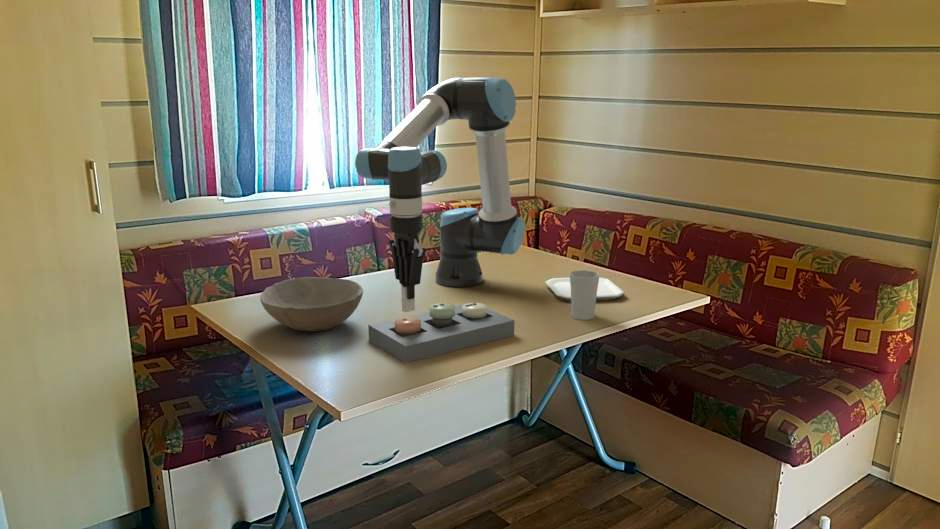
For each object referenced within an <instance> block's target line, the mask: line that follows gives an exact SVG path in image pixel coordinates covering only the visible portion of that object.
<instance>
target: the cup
mask: <svg viewBox="0 0 940 529" xmlns="http://www.w3.org/2000/svg"><path fill="white" fill-rule="evenodd" d="M599 277H600V273H598V272H597V271H594V270H588V269H587V270H586V269H578V270H572V271H570V272H569V278H570V285H571V301H570V303H571V304H570V305H571V309H570V310H571V312H570V317H571V318H573V319H575V320H583V321H585V320H587V321H588V320H592V319H594V318H595V310H596V304H597V301H596V296H597V288H598V282H599Z"/></svg>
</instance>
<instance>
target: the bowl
mask: <svg viewBox="0 0 940 529" xmlns="http://www.w3.org/2000/svg"><path fill="white" fill-rule="evenodd" d="M363 295H364V288H363V287H362V285H360V284H359V283H358V282H356V281H353V280H350V279H344V278H331V277H319V276H318V277H314V276H305V277H295V278H290V279H285V280H282V281H280V282H276V283H274V284H273V285H271V286H268V287H266V288H265V289H264V290H263V291H262V292H261V294H260V297H259V298H260V300H259V301H260V303H261V305H262V307H263V309H264V310H265V311H266V312H267V313H268V314H269V316H271V317H272V318H273V319H274V320H275V321H276V322H278V323H280V324H281V325H283V326H285V327H288V328H290V329H293V330H297V331H299V332H300V331H301V332H305V331H307V332H318V331H319V332H321V331H323V330H324V331H326V330H330V329H332V328H333V327H336V326H338V325H341V324H342V323H344V321H346V320H348V318H350V316H351V315H352V314H354V313H355V311H356V309H357V308H358V306H359V304H360V303H361V300H362V298H363Z"/></svg>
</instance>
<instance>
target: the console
mask: <svg viewBox="0 0 940 529" xmlns="http://www.w3.org/2000/svg"><path fill="white" fill-rule="evenodd" d="M468 303H469V302H468ZM468 303H466V304H468ZM471 303H474V302H472V301H471ZM464 304H465V303H463V304H458V305H454V306H455V316H454V317H452V326H449V327H445V328H440V329H438V328H435V327H433V326H432V317H430V315H429V311H425V312H421V313H417V314H411V315H406V317H414V318H418V319H420V320H421V330H420V331H419V332H418V334H415V335H410V336H406V337H402V336H400V335H398V332H396V331H395V320H396V319H398V318H399V317H398V318H393V319H388V320H385V321H379V322H375V323H369V324H368V330H367V331H368V341H370V342H372V343H373V344H374V345H376V346H378V347H380V348H382V349H383V350H384V351H386V352H388V353H390V354H391V355H392V356H394V357H396V358H398V359H399V360H401V361H403V362H404V363H410V362H415V361H418V360H422V359H425V358H430V357H433V356H438V355H441V354H445V353H449V352H453V351H457V350H460V349H461V350H462V349H465V348H470V347H472V346H477V345H481V344H484V343H488V342H492V341H497V340H500V339H503V338H504V339H505V338H508V337H512V336H515V326H516V325H515V324H516V323H515V322H516V321H515V319H513V318H510V317H508V316H506V315H503V314H501V313H499V312H496V311H495V310H492V309H489V308H487V315H486V316H485V317H484V318H483V319H479V320H475V321H470V320H468V319H465V316H463V315H462V306H463V305H464ZM403 317H404V316H403ZM403 317H401V318H403Z"/></svg>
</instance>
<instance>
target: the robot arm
mask: <svg viewBox="0 0 940 529" xmlns="http://www.w3.org/2000/svg"><path fill="white" fill-rule="evenodd" d="M516 102H517V101H516V95H515V91H514V88H513V86H512V85H511V83H510V82H509V80H508V79H505V78H503V77H502V78H501V77H493V76H489V77H487V76H485V77H480V76H479V77H461V76H459V77H453V78H448V79H446V80H443V81H442V82H440V83H437V84H436V85H435V86H433V87H431V88H430V89H429V90H427V91H426V92H425V93H424V94H423V95H422V96H421V97H420V98H419V100H418V102H417V106H416V107H415V108H414V109H413V110H412V111H411V112H410V113H409V114H408V115H407V116H406V117H404V118H403V120H402V121H401V122H400V123H398V125H397V126H395V127H394V128H393V130H392V131H391V132H389V134H388V135H386V137H384V139H383V140H381V141H380V143H379V144H377V145H376V146H375V147H374V148H371V147H368V148H362V149H360V150H359V151H358V152H357V154H356V157H355V158H354V159H355V161H354V166H355V169H356V173H357V175H358V176H359V177H361V178H363V179H368V180H373V181H376V180H377V181H378V180H379V181H388V186H389V190H388V193H389V194H388V195H389V203H388V206H389V213H390V214H391V215H390V217H389V226H390V227H389V228H390V232H392V233H394V235H393V236H394V237H393V238H391V239H390V238H389V240H388V243H389V246H390V249H391V256H392V263H393V271H394V276H395V277H394V278H395V280H397V281H398V280H399V282H398V283H399V284H400V285H401V286H400V288H401V290H400V291H401V311H402V312H404V313H408V312H413V311H416V306H415V304H416V303H415V302H416V300H415V296H416V295H415V292H416V291H415V288H416V287H415V286H417V285H420V284H421V278H422V272H423V263H424V262H423V261H424V256H425V253H426V248H425V247H421V246H420V238H419V233H421V231H423V216H422V213H423V196H422V195H423V194H422V192H423V191H422V189H423V188H422V185H425V184H430V183H434V182H437V181H438V180H440V179H441V178H442V177H444V175H445V174H446V172H447V167H448V165H447V164H448V163H447V160H446V158H445V156H444V155H443V154H442V153H441V152H440V151H438V150H435V149H431V150H430V149H426V150H424V151H421V149H420V148H418V147H419V146H420V145H421V144H422V142H424V140H426V138H427V137H429V135H430V134H431V133H432V132H433V131H434V130H435V129H436V128H437V127H439V126H442V125H444V124H446V123H447V121H450V120H467V121H468V127H469V128H468V129H469V130H470V131H472V133H475V134H474V135H475V146H476V152H477V153H476V154H477V163H478V164H477V165H478V166H477V167H478V172H479V173H478V174H479V183H480V193H481V194H480V195H481V201H482V202H481V203H482V207H481V209H480V210H479V211H478V208H477V207H461V208H460V207H459V208H454V209H449V210H446V211H444V212H443V213H441V216H440V225H439V227H440V258H439V262H438V265H437V268H436V271H435V279H434V280H435V282H436V283H437V284H439V285H441V286H445V287H455V288H462V287H463V288H464V287H465V288H466V287H473V286H477V285H480V284H481V283H483V280H484V279H483V278H484V276H483V271H482V268H481V265H480V262H479V259H478V252H480V253H489V254H490V253H491V254H497V255H501V256H502V255H510V256H511V255H516V253H517V252H518V251H519V250H520V248H521V246H522V244H523V240H524V236H525V231H526V222H525V219H524V218H523V217H521V216H518V211H517V208H516V207H515V206H513V205H512V200H511V187H510V186H511V185H510V177H509V176H510V175H509V164H508V162H509V161H508V154H507V153H508V150H507V139H506V130H507V129H508V127H509V126H510V121H512V120H513V119H514V117H515V115H516V107H517V103H516Z"/></svg>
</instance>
